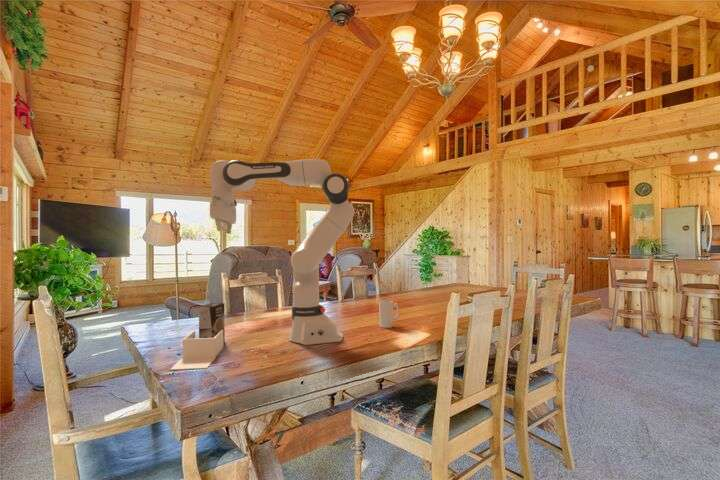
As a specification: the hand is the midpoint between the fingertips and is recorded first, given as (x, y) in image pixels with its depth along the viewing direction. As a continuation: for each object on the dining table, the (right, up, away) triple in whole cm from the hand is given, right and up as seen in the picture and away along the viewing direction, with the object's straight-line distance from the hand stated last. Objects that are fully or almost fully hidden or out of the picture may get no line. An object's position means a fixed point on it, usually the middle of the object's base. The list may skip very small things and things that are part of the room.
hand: (224, 232), depth 162 cm
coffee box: (-4, -46, -3) cm, 46 cm away
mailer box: (-2, -46, -21) cm, 50 cm away
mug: (+70, -45, +25) cm, 87 cm away
